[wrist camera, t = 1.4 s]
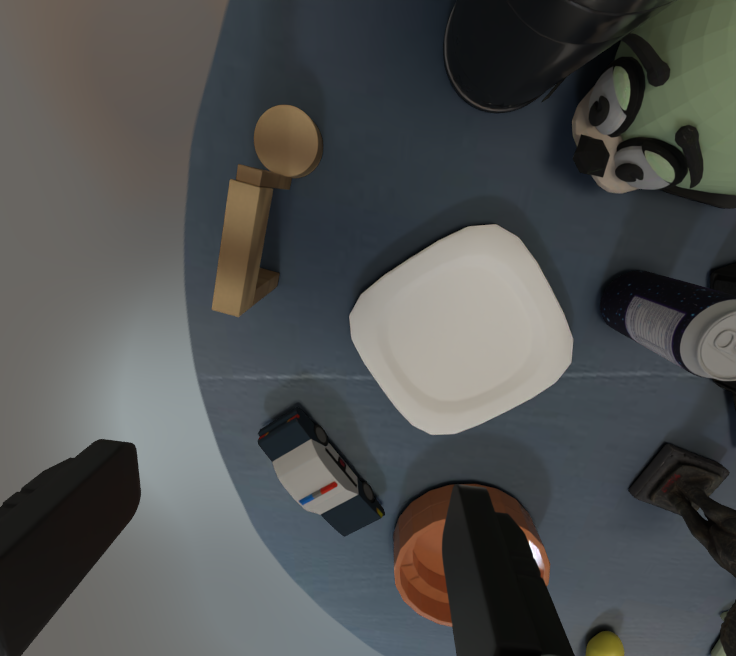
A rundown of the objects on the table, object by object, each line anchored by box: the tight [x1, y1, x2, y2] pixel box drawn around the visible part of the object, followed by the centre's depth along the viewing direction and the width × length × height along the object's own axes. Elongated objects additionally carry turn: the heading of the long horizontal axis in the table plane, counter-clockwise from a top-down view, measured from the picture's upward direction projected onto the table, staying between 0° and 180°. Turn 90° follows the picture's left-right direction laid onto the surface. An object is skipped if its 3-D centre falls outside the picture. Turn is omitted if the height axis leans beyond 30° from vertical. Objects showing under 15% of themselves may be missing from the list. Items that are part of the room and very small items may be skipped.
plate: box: [349, 224, 573, 435], centre depth 36 cm, size 18×18×2 cm
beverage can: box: [600, 271, 736, 381], centre depth 30 cm, size 6×6×12 cm
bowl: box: [393, 484, 550, 627], centre depth 43 cm, size 16×16×5 cm
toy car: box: [258, 407, 385, 537], centre depth 41 cm, size 5×16×5 cm, turn 35°
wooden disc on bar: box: [212, 105, 323, 317], centre depth 29 cm, size 15×5×10 cm, turn 165°
